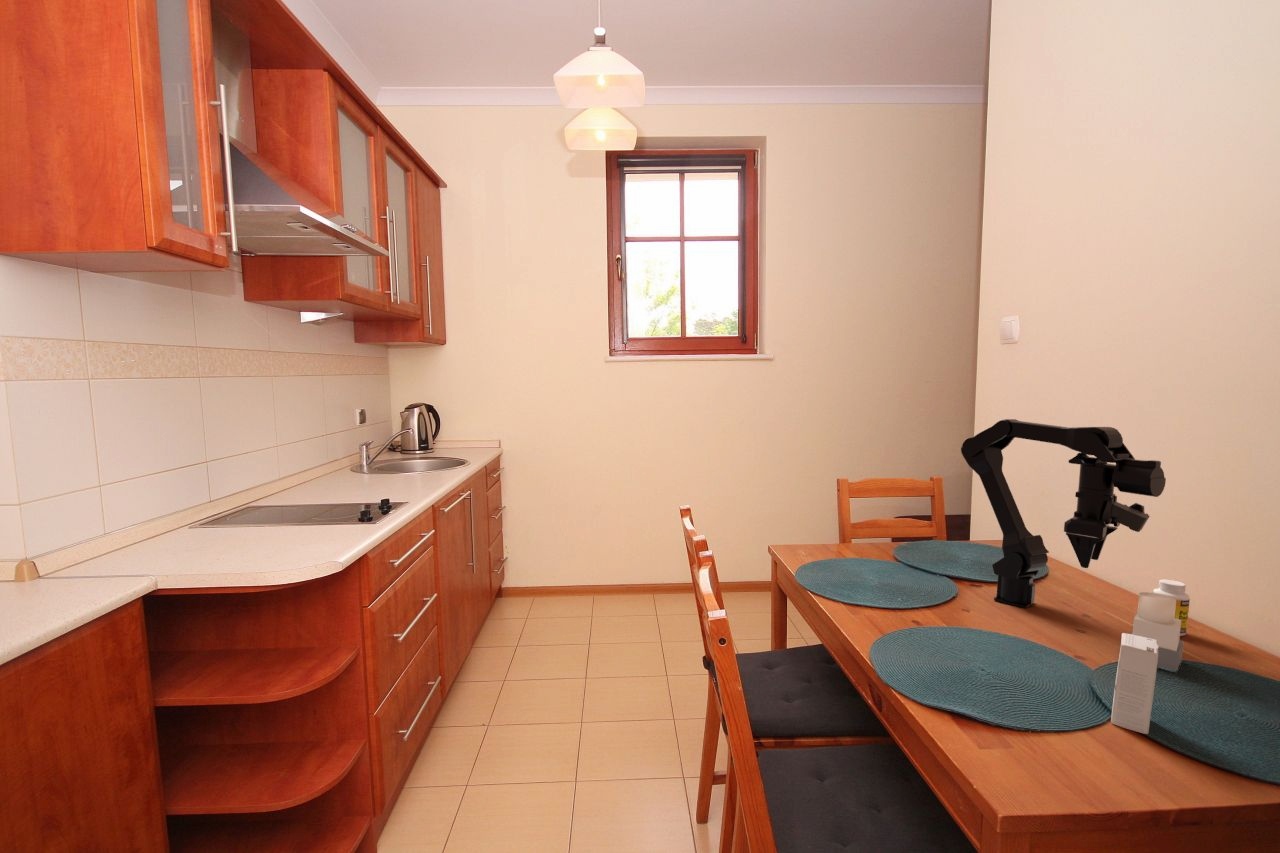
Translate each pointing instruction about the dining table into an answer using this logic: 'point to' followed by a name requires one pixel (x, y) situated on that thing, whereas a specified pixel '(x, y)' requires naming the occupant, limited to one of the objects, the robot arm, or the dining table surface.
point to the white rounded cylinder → (1156, 608)
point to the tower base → (1170, 656)
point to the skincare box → (1135, 683)
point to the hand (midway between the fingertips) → (1089, 563)
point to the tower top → (1158, 632)
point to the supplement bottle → (1182, 600)
